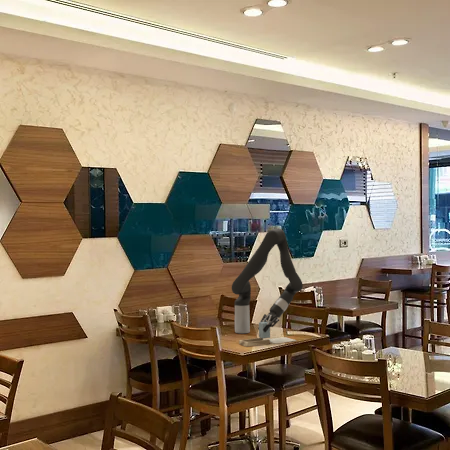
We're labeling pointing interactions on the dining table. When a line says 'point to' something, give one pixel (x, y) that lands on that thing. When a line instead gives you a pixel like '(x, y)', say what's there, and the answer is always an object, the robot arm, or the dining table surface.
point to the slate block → (261, 332)
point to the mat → (280, 340)
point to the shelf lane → (253, 342)
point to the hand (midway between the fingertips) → (261, 330)
